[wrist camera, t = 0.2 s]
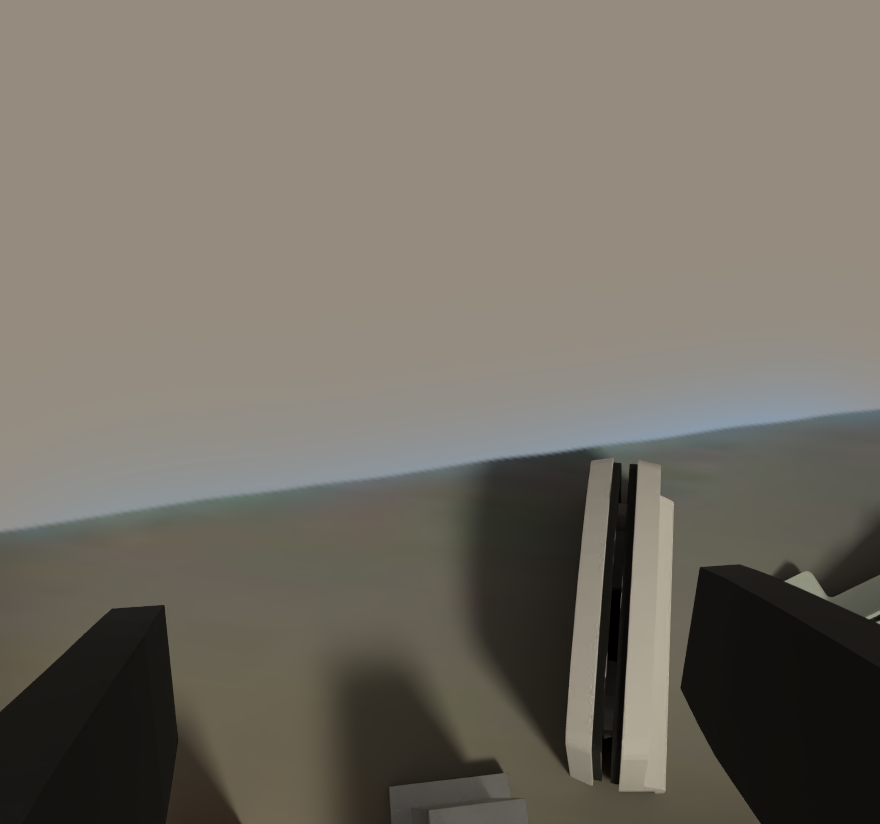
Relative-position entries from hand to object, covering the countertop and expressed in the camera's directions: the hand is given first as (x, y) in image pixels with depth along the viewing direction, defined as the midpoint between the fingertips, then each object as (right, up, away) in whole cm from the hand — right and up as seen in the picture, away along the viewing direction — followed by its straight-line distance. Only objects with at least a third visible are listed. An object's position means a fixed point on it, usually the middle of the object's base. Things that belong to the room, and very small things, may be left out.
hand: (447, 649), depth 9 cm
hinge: (+9, -9, +32) cm, 34 cm away
